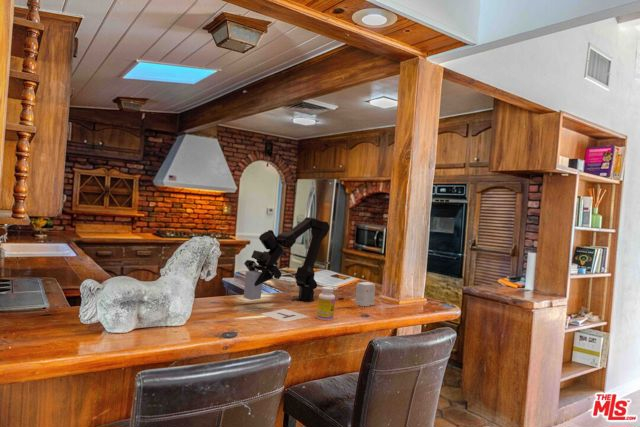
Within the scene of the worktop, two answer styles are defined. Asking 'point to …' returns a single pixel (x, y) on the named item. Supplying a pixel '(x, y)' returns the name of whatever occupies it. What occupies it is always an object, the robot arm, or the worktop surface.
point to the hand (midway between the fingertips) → (250, 284)
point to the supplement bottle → (326, 304)
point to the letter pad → (284, 315)
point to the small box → (365, 294)
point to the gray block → (252, 285)
